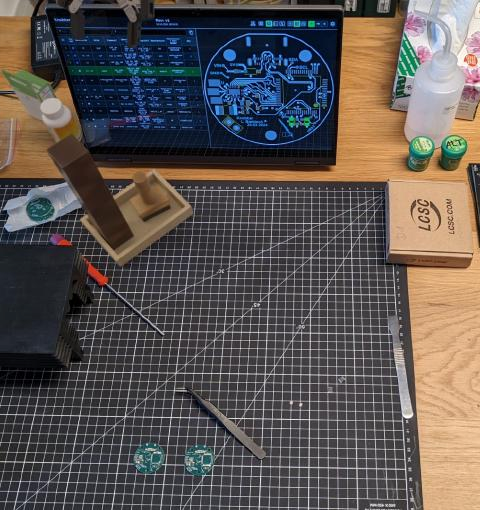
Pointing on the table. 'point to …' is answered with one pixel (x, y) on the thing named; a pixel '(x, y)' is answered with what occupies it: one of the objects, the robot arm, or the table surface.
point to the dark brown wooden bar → (90, 190)
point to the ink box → (30, 91)
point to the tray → (142, 230)
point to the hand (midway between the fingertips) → (105, 44)
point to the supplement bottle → (59, 120)
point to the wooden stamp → (148, 198)
